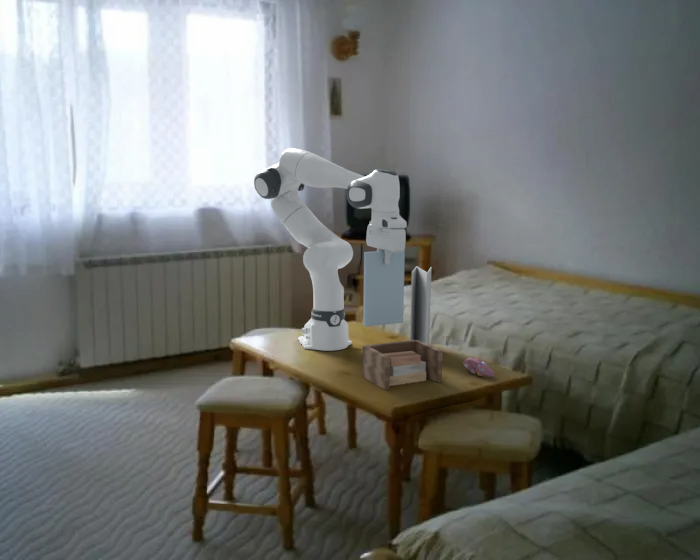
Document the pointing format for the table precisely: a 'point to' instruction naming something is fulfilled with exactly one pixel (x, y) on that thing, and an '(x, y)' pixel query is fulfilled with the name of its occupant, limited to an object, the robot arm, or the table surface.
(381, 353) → the rack
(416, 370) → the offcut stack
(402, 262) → the sheet
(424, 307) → the brochure
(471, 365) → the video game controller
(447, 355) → the table surface
